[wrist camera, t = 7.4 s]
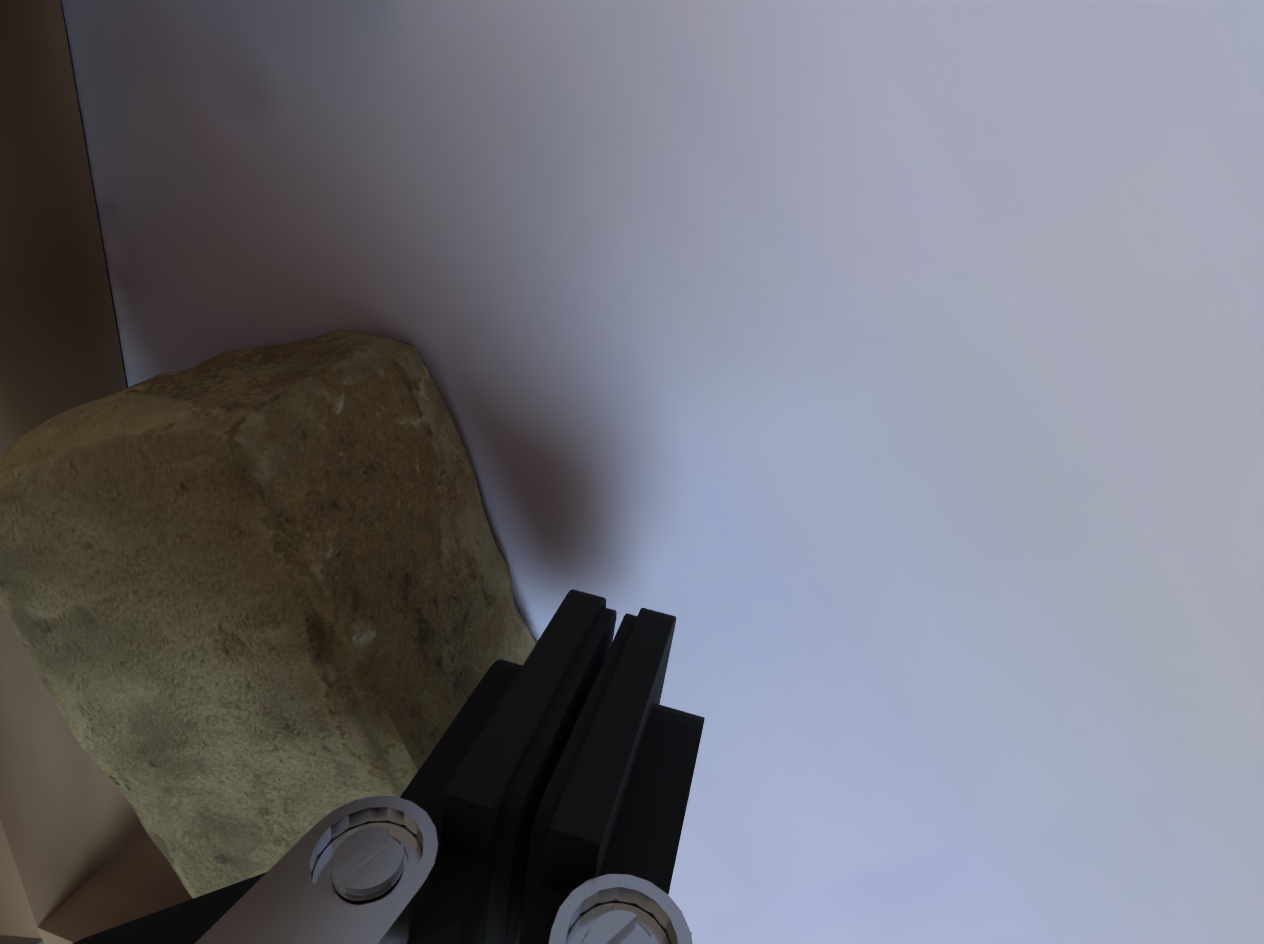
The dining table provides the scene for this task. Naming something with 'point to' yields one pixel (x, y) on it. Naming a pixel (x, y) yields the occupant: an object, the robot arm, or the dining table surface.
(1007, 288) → the dining table surface
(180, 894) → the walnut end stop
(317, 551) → the stone block
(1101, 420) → the dining table surface
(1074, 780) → the dining table surface
